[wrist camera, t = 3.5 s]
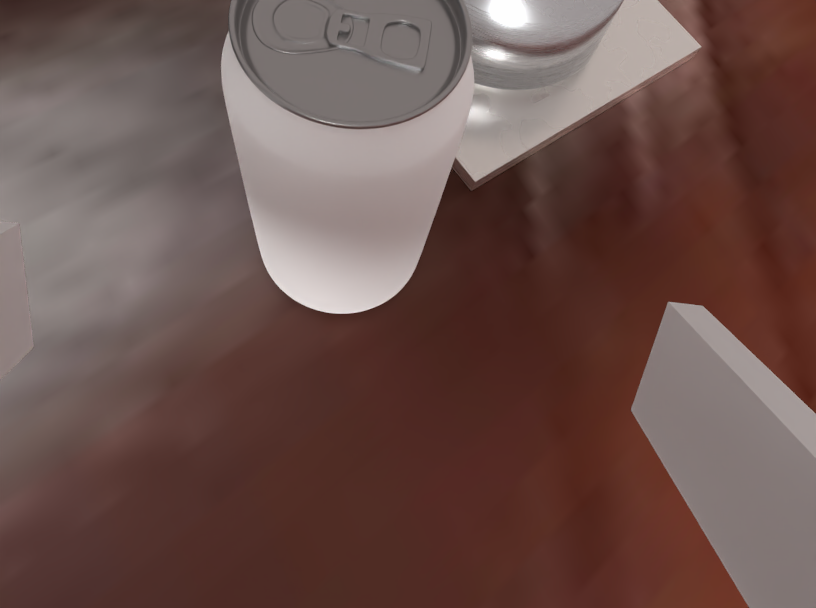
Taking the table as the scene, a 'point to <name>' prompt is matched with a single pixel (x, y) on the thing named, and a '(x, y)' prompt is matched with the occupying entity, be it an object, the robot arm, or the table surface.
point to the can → (345, 136)
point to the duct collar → (557, 71)
